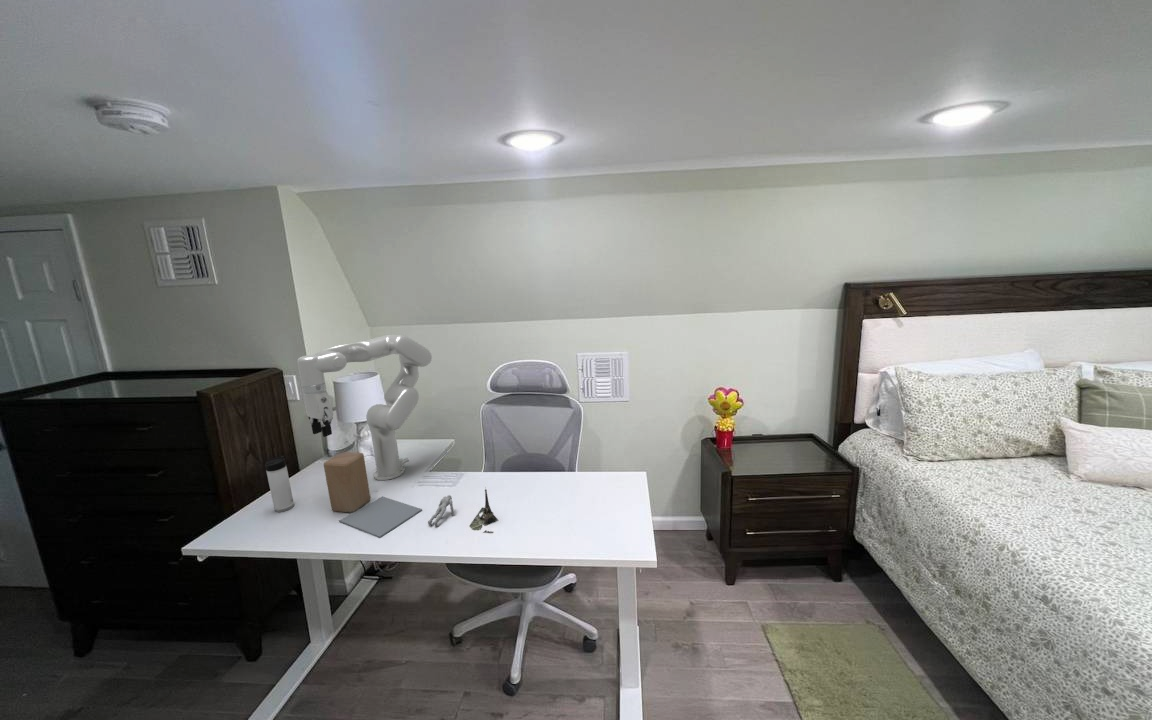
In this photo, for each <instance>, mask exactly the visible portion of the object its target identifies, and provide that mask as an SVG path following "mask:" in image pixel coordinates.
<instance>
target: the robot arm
mask: <svg viewBox="0 0 1152 720" xmlns="http://www.w3.org/2000/svg"><path fill="white" fill-rule="evenodd" d="M391 355H398V360H399V363H400V365H399V366H400V370H399V372H398V374H397V375H396V377H395V379H394V380H393V381H392V382H391V384H390V386H389V387H388V388H387V389H386V391H385V392H384V397H383V399H384V401H385V403H387V405H386V404H382V403H381V404H380V403H379V404H378V403H377V404H374V405H371V406H370V407H369V409H368V410H367V412H366V418H365V419H366V423H367V425H368V428H369V431H370V436H371V443H372V448H373V455H374V461H375V468H376V469H375V471H374V472H373V478H374V479H375V480H378V481H387V480H392V479H396V478H398V477H399V476H402V475H403V474H404V473H405V469H406V468H405V467H404V465H405V464H406V463H409V461H410V459H409V457H405V458H400V456H399V455H400V454H399V447H398V441H397V434H396V431H397V430H399V429H400V428H401V427H402V426H403V425H405V423H406V421H407V420H408V418H409V417H410V416H411V414H412V413H413V411H414V410H415V408H416V407H417V405H418V403H419V401H420V400H419V399H420V395H419V391H418V390H417V389H416V388H415V385H416V384H417V382H418V381H419V377H420V375H419V374H420V373H419V367H420V368H424V367H427V366H429V364H430V363H431V362H432V358H433V357H432V353H431V351H430V350H429V349H428V348H427V347H425V346H424V345H422V344H420V343H419V342H418V341H415V340H414V339H412V338H410V337H409V336H406V335H404V334H395V333H394V334H385V335H382V336H377V337H374V338H371V339H366V340H362V341H357V342H352V343H346V344H341V345H336V346H332V347H328V348H324V349H321V350H318V351H317V352H315V353H314V354H308V355H303V356H300V357H298V359H296V360H297V368H298V372H299V373H298V374H299V377H300V383H301V389H302V395H303V402H304V407H305V414H306V416H307V417H308V420H309V424H310V425H311V430H312V435H317V434H319V433H322V437H328V436H330V435H332V434H333V432H332V431H333V430H332V420H333V419H334V410H333V406H332V403H331V398H330V395H329V393H328V391H327V386H326V380H325V373H335V372H340V371H342V370H343V369H345V368H346V366H347V363H365V362H372V361H374V360H377V359H381V358H384V357H388V356H391ZM388 404H389V405H388Z"/></svg>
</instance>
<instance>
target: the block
mask: <svg viewBox="0 0 1152 720" xmlns="http://www.w3.org/2000/svg"><path fill="white" fill-rule="evenodd" d="M366 467H367V466H366V461H365V456H364V453H362V452H354V451H353V452H351V451H350V452H349V451H347V452H346V451H341V452H339V453H338V454H336V455H334V456H332V457H331V458H329V459H327V460H326V461H324V462H323V468H324V469H323V470H324V474H325V475H324V476H325V481H326V486H327V492H328V496H329V502H330V508H331V511H333V512H339V513H340V512H342V513H349V514H351V513H353V512H355V511H357V510H359V509H360V508H362V507H364V506H365V505H367V504H368V502H369V501H370V500H371V493H370V492H371V491H370V487H369V479H368V474H367V468H366Z"/></svg>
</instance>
